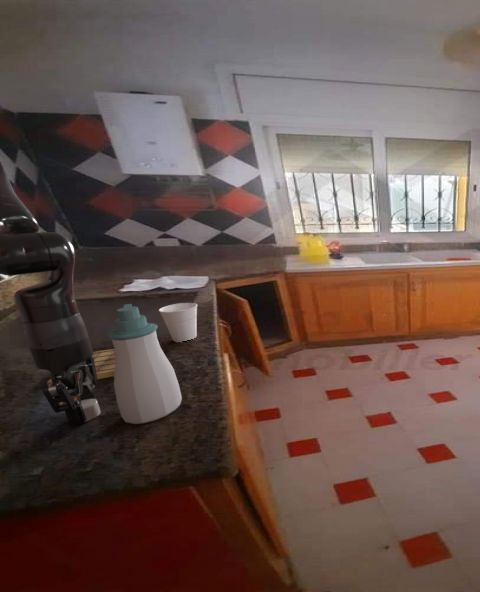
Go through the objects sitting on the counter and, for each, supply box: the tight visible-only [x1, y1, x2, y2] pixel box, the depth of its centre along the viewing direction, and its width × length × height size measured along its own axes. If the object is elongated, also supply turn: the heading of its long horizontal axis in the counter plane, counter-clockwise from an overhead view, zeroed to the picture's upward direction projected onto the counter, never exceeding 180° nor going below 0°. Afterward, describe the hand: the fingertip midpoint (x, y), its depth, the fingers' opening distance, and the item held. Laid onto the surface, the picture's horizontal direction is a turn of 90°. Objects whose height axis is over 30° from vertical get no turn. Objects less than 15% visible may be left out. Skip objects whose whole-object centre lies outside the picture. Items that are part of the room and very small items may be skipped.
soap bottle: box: [106, 303, 183, 425], centre depth 64 cm, size 10×10×23 cm
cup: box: [158, 302, 198, 343], centre depth 101 cm, size 10×10×11 cm
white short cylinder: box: [81, 398, 102, 423], centre depth 64 cm, size 5×5×3 cm
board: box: [46, 348, 116, 387], centre depth 86 cm, size 17×17×2 cm
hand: (84, 415), depth 65 cm, fingers open, 5 cm apart
